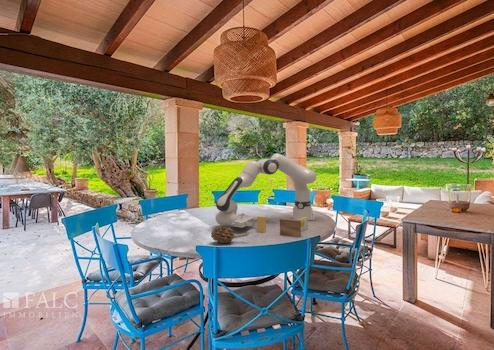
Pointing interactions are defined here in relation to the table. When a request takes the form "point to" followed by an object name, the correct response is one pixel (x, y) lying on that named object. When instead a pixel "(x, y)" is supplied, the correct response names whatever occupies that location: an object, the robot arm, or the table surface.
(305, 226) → the candy box
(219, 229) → the pine cone
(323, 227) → the table surface
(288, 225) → the walnut board
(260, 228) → the ochre stub
